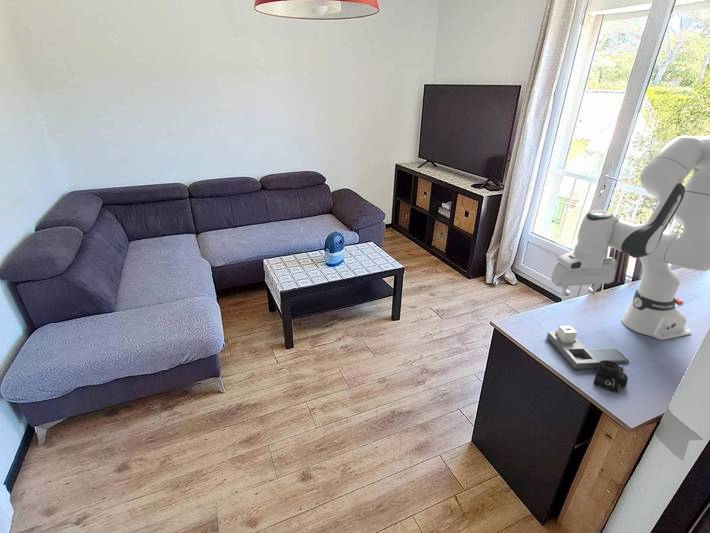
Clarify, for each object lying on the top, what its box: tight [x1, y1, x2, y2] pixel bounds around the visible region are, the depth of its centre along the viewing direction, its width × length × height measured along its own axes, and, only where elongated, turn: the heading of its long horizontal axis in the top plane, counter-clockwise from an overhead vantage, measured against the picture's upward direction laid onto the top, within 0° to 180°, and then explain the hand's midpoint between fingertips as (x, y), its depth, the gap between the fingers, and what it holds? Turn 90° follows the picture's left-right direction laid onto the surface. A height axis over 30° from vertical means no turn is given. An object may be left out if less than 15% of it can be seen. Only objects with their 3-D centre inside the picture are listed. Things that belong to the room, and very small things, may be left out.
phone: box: [587, 348, 630, 365], centre depth 128 cm, size 13×6×1 cm, turn 93°
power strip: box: [546, 329, 600, 371], centre depth 131 cm, size 8×18×4 cm, turn 3°
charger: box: [556, 325, 578, 343], centre depth 134 cm, size 4×4×7 cm
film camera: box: [593, 360, 629, 393], centre depth 118 cm, size 13×8×10 cm
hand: (578, 294), depth 128 cm, fingers open, 8 cm apart
